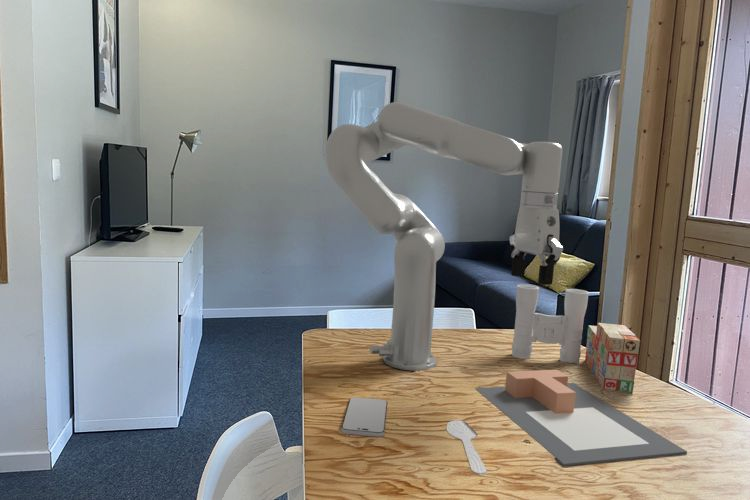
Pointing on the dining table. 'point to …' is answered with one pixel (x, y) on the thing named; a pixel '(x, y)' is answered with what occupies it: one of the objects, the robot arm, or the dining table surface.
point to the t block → (542, 388)
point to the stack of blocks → (612, 355)
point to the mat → (582, 429)
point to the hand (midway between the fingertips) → (530, 279)
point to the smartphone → (365, 417)
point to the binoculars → (549, 324)
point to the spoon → (467, 443)
